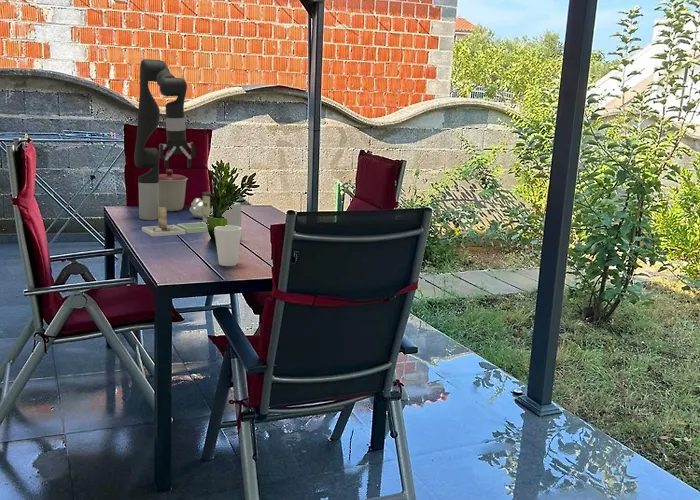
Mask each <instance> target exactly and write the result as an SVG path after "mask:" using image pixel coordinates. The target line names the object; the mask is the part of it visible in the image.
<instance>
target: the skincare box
mask: <svg viewBox="0 0 700 500" xmlns="http://www.w3.org/2000/svg"><path fill="white" fill-rule="evenodd" d="M234 203H235V204H234V205H231V206H230V207H231V208H232V209H231V208H230V207H229V210H226V211H225V212H224V213H223V214H222V217H224V218H225V219H227V222H228V223H227V225H230V226H239V227H241V228H242V206H241V205H242V204H241V202H234ZM242 236H243V235H241V238H240V241H241V240H242V239H243V238H242Z"/></svg>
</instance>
